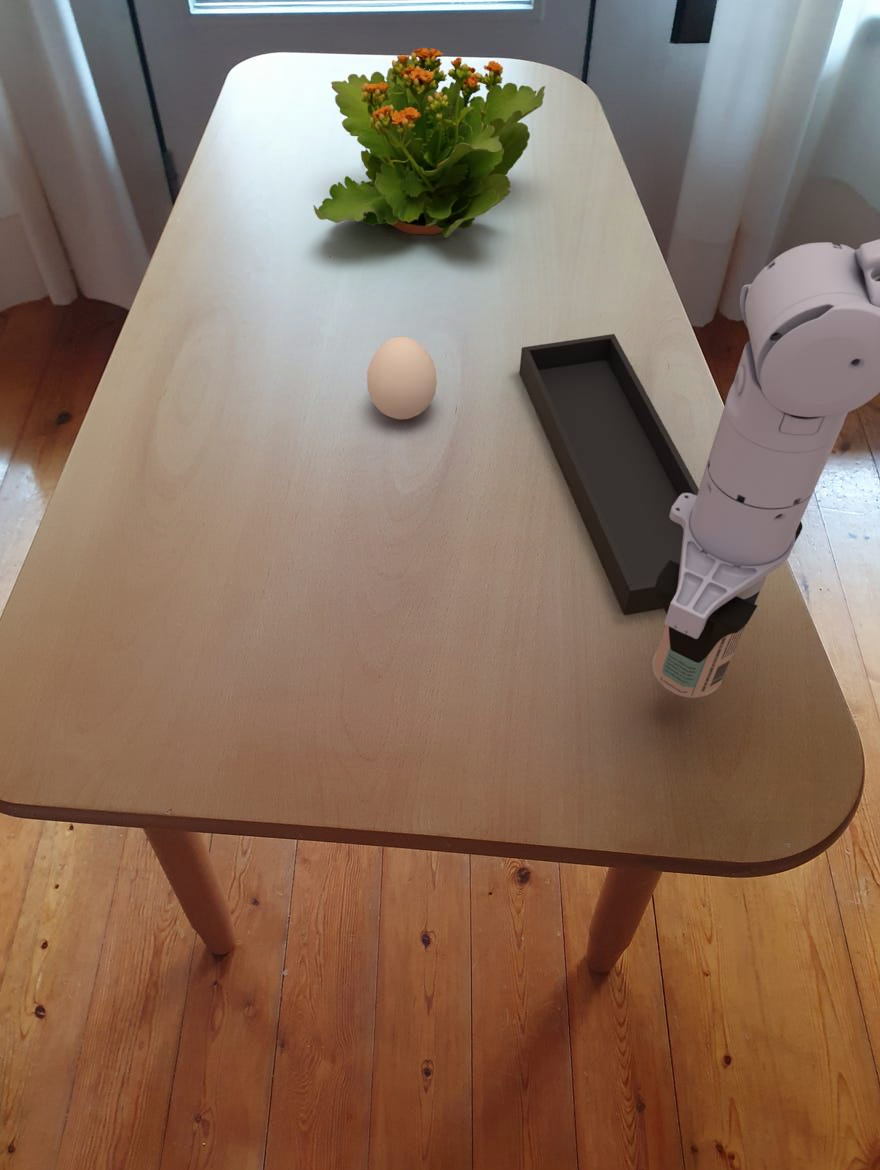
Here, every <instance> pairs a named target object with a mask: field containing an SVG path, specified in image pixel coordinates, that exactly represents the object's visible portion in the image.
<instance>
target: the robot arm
mask: <svg viewBox="0 0 880 1170" xmlns="http://www.w3.org/2000/svg"><path fill="white" fill-rule="evenodd" d="M739 305H740V311H741V316H742V320H743V322H744V325H745V327H746V328H747V330H748V335H749V341H747V342H746V344H745V345H744V348H743V351H742V353H741V357H740V360H739V363H738V367H737V371H736V373H735V377H734V380H733V382H732V384H731V386H730V388H729V390H728V394H727V396H726V399H725V403H724V407H723V410H722V413H721V417H720V419H719V422H718V426H717V429H716V432H715V436H714V439H713V442H712V445H711V449H710V452H709V455H708V459H707V462H706V465H705V468H704V472H703V475H702V479H701V482H700V485H699V487H698V489H699V491H698V494H697V496H696V495H693V494H691V493H682V494H681V495H680V496H679V497H678V499H677V500H676V502H675V503H674V504H673V506H672V508H671V511H670V515H669V517H670V519H671V520H672V521H674V522H676V523H678V524H680V525H681V526H682V527H683V530H684V532H683V542H682V551H681V560H680V564H678V563H676V562H673V561H671V560H669V561H668V563H667V564H666V565H665V567H664V568H663V570H662V571H661V573H660V574H659V576H658V578H657V581H656V584H655V596H656V597H657V599H658V600H659V601H660V603H661V604H662V606H663V608H662V609H664V612H665V614H666V616H665V619H664V623H663V624H664V625H665V626H666V625H667V626H669V640H670V648H671V650H672V651H673V652H676V653H678V654H680V655H682V656H684V657H686V658H688V659H690V660H692V661H694V662H696V663H700V662H701V661H703V660H704V659H705V658H706V657H707V656H708V655H709V653H710V652H711V651H712V649H713V648H714V647H715V645H716V644H717V643H718V642H719V641H720V640H721V639H722V638H724V637H725V636H727V635H730V634H733V633H737V632H739V631H740V630H741V629H742V628H743V627H744V626H745V627H746V625H747V624H748V623H749V621H750V620H751V618H752V616H753V615H754V613H755V611H756V610H757V608H758V605H757V604H756V603H755V604H753V603H751V602H749V601H746V600H744V599H742V598H740V597H737V595H738V594H740V593H741V592H743V591H744V590H746V589H747V588H749V587H750V586H752V585H753V584H755V583H756V582H758V581H759V580H761V579H762V578H764V577H765V576H766V577H767V576H769V575H770V574H771V573H773V572H775V571H776V570H778V569H779V568H780V567H782V566H783V565H784V564H785V562H786V561H787V560H788V559H789V557H790V556H791V553H792V551H793V548H794V546H795V543H796V542H797V540H798V538H799V536H800V535H801V532H802V530H803V523H802V519H803V517H804V514H805V512H806V510H807V508H808V506H809V503H810V501H811V499H812V496H813V494H814V492H815V489H816V487H817V484H818V483H819V480H820V479H821V476H822V474H823V471H824V468H825V466H826V464H827V463H828V460H829V457H830V455H831V453H832V451H833V448H834V446H835V444H836V441H837V439H838V437H839V435H840V433H841V430H842V428H843V426H844V424H845V421H846V418H847V415H848V413H850V412H852V411H854V410H856V409H859V408H860V407H862V406H863V405H866V404H867V403H868V402H870V401H871V400H872V399H874V398H875V397H876V396H877V395H879V394H880V238H879V239H875V240H872V241H869V242H865V243H862V244H860V246H859V248H857V249H854V248H852V247H851V246H848V245H846V244H841V243H840V245H837V244H833V242H829V241H823V242H808V243H805V244H801V245H798V246H795V247H792V248H790V249H788V250H786V251H784V252H782V253H781V254H779V255H778V256H777V257H775V258H774V259H773V260H772V261H770V262H769V263H768V264H767V265H765V266H764V267H763V268H762V269H761V270H760V272H759V273H758V274H757V275H756V276H755V278H754V280H753V281H752V283H748V284H745V285H743V286H742V287H741V292H740V298H739ZM745 627H744V628H745Z"/></svg>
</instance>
